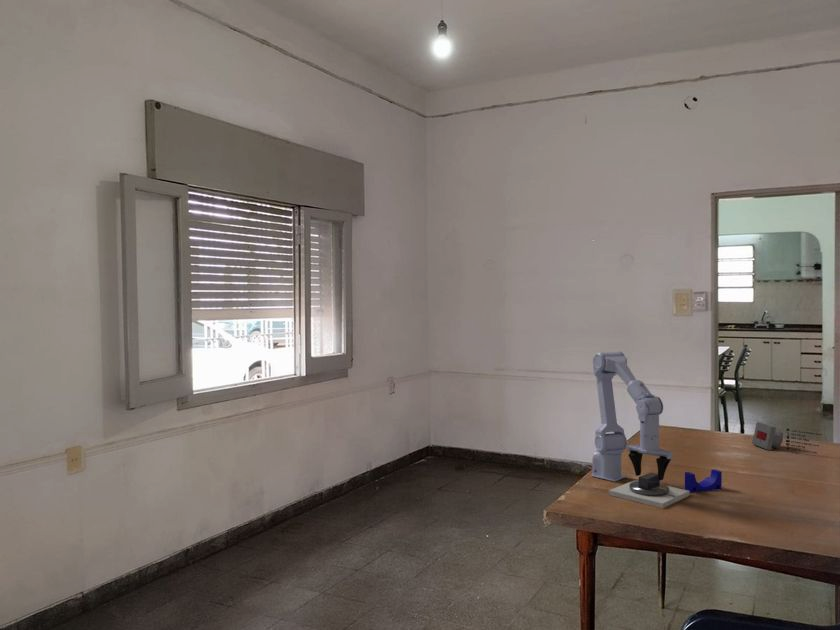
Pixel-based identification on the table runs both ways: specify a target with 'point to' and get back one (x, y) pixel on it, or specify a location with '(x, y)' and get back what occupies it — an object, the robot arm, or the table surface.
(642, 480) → the dial
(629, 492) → the dial panel
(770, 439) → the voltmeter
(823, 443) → the table surface
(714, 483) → the blue cradle block
